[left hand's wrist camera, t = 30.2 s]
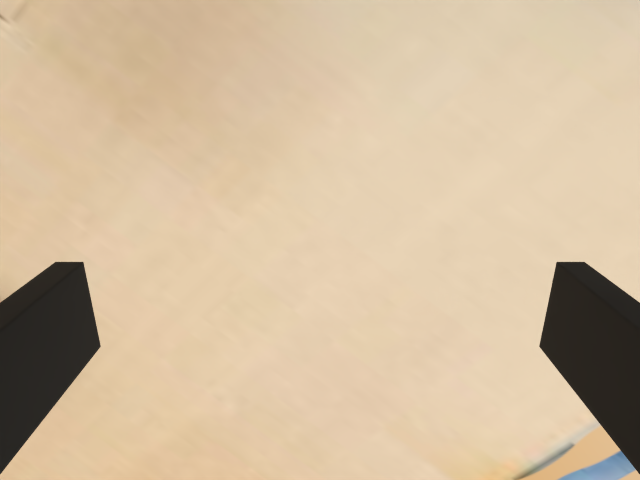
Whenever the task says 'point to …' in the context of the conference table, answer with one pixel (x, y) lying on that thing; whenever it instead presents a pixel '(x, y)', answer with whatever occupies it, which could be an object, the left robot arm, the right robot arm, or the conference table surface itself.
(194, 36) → the conference table surface
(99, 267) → the conference table surface
